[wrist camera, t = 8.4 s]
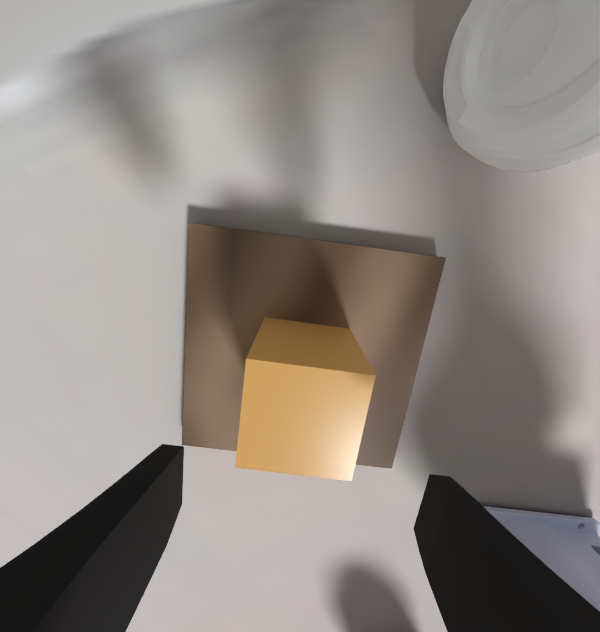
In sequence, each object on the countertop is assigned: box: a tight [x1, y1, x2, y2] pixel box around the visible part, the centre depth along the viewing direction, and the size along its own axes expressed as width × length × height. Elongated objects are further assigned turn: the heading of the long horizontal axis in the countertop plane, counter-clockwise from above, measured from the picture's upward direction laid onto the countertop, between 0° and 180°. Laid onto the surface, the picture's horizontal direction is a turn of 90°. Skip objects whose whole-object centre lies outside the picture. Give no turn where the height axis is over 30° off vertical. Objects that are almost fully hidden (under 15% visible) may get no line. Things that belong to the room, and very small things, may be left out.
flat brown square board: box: [182, 223, 445, 468], centre depth 16 cm, size 14×14×4 cm
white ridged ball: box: [443, 0, 600, 172], centre depth 11 cm, size 8×8×8 cm
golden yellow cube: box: [235, 317, 376, 481], centre depth 15 cm, size 5×5×6 cm
